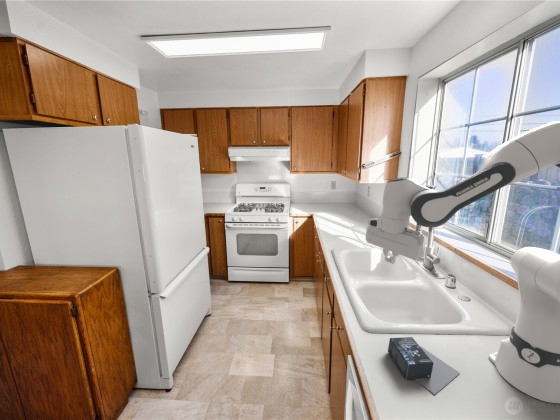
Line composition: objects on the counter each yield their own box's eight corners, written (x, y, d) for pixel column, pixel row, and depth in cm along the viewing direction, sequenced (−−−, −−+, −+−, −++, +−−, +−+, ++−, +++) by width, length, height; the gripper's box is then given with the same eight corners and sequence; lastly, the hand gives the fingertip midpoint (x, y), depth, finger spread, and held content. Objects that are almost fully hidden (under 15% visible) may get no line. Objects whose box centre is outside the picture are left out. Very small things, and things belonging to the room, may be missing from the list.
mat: (420, 346, 84) (420, 346, 84) (459, 373, 74) (459, 372, 74) (395, 363, 77) (395, 362, 77) (434, 395, 67) (434, 394, 67)
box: (411, 336, 80) (434, 363, 70) (409, 350, 82) (430, 378, 71) (389, 337, 80) (408, 364, 69) (386, 351, 81) (405, 380, 71)
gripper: (430, 231, 76) (424, 271, 79) (375, 217, 94) (372, 250, 96) (418, 234, 73) (412, 276, 76) (364, 219, 90) (361, 254, 93)
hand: (389, 262), depth 86 cm, fingers closed
